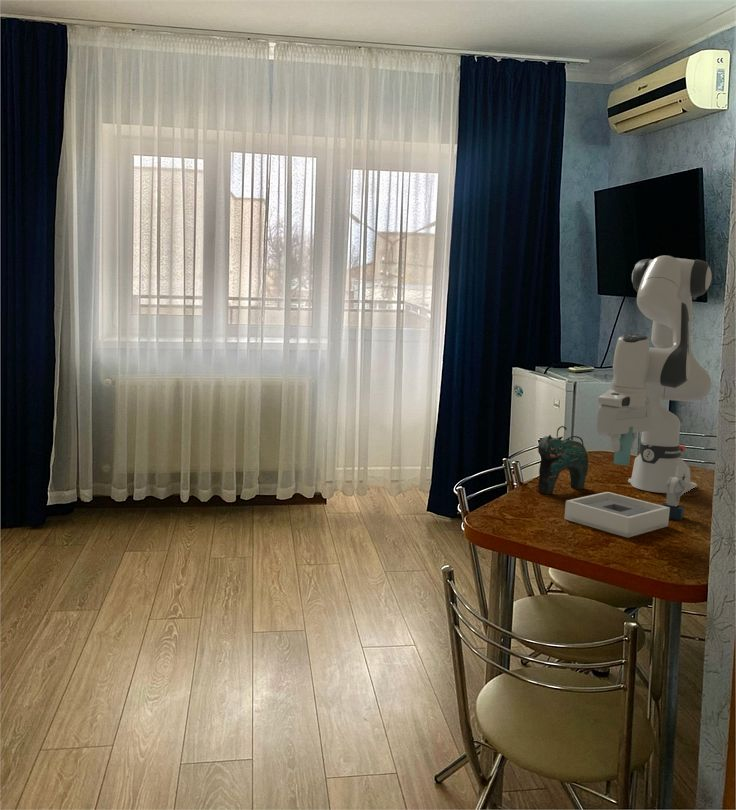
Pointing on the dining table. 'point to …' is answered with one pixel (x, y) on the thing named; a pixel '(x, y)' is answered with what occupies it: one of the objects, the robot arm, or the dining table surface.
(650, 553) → the dining table surface
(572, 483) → the ceramic cat
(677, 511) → the watch
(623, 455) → the peg
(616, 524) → the open box
